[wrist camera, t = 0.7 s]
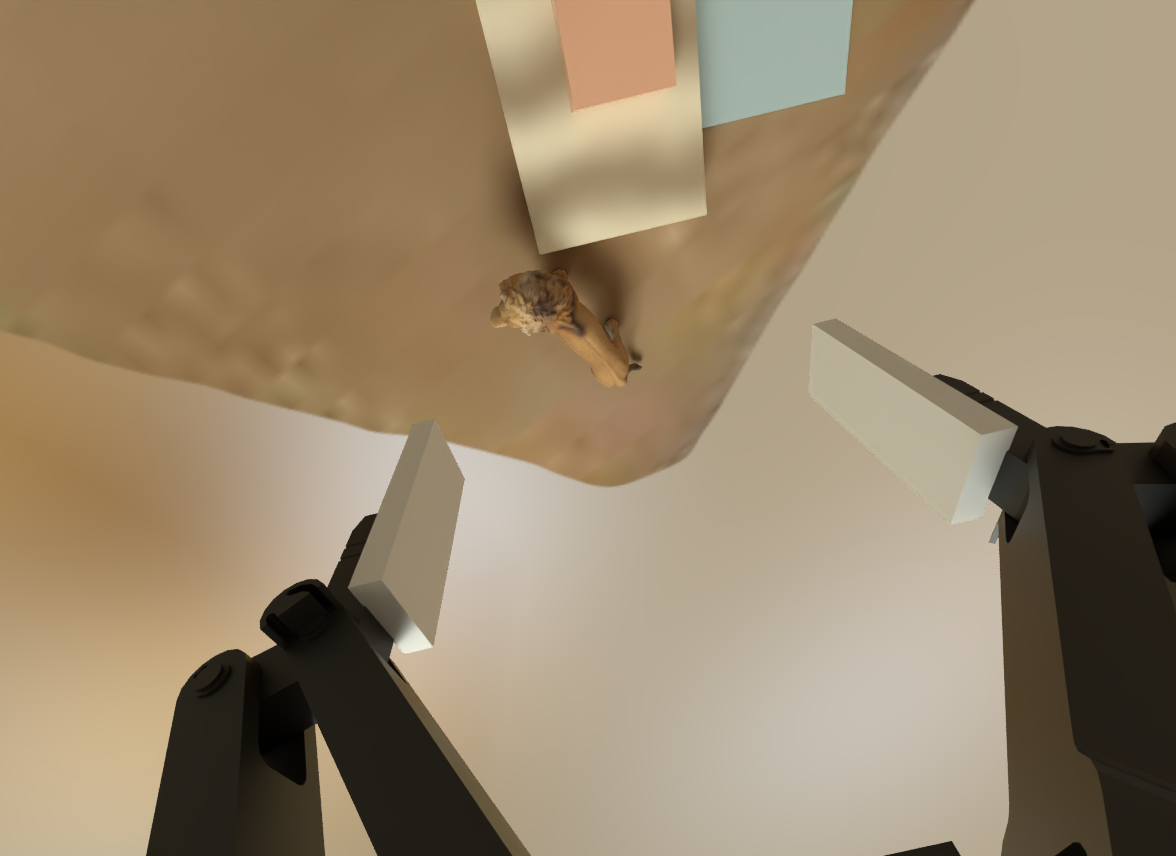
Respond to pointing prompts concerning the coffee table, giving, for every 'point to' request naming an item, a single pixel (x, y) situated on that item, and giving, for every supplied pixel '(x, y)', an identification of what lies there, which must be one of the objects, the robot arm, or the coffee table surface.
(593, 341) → the lion figurine
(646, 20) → the tile
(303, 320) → the coffee table surface
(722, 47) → the mat
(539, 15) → the plate
